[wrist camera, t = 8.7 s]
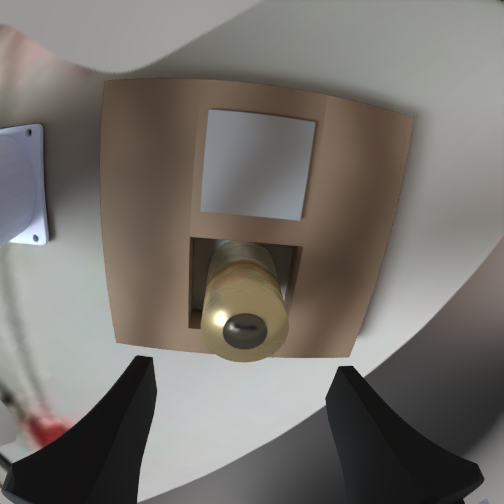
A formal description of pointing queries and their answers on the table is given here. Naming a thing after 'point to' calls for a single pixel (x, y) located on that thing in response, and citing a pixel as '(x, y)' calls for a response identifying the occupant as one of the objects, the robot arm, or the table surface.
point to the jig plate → (245, 202)
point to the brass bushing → (243, 304)
